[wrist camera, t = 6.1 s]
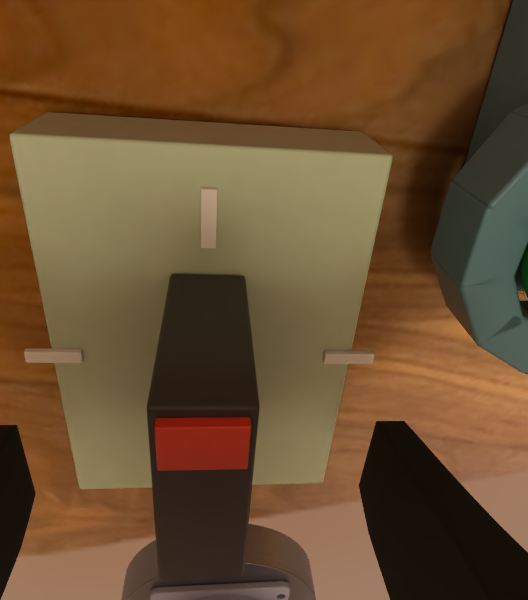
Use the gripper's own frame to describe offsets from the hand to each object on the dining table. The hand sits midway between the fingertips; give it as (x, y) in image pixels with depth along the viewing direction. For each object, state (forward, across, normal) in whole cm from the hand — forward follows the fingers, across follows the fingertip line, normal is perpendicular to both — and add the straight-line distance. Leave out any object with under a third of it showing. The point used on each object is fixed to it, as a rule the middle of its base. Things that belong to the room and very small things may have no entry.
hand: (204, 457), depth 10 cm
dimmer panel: (+6, 0, 0) cm, 6 cm away
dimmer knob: (+3, 0, 0) cm, 3 cm away
